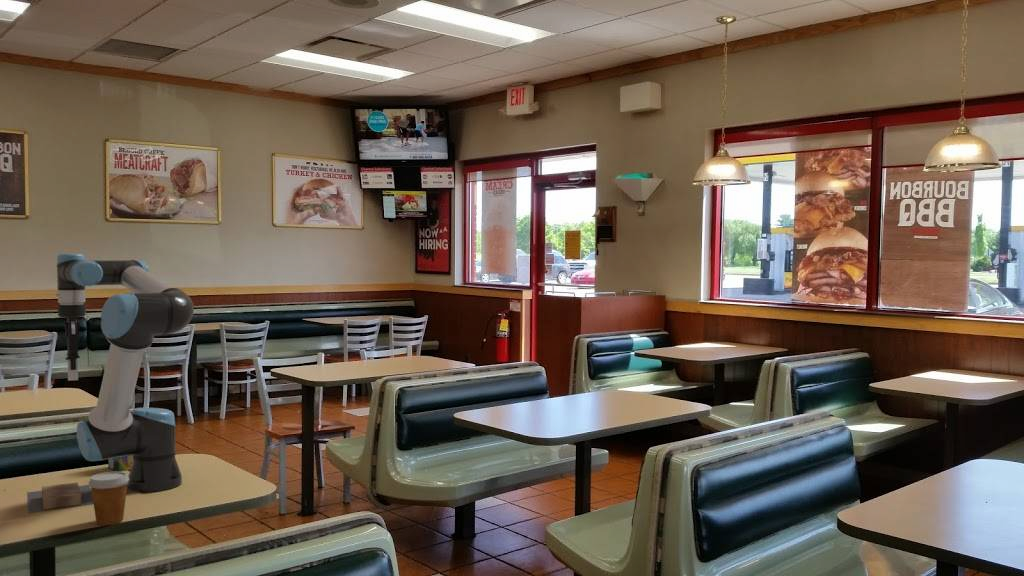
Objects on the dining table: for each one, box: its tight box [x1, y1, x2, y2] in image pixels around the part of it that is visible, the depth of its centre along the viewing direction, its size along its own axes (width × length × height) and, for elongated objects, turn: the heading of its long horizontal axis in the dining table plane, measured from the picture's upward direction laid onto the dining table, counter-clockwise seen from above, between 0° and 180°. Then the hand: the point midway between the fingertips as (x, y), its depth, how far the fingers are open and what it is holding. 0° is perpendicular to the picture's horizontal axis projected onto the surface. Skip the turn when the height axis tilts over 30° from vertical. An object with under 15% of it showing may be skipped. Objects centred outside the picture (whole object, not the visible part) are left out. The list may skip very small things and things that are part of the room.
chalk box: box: [107, 455, 133, 472], centre depth 270 cm, size 9×9×15 cm
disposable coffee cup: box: [88, 471, 129, 526], centre depth 217 cm, size 10×10×12 cm
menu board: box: [41, 482, 81, 510], centre depth 233 cm, size 9×3×14 cm
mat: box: [26, 484, 94, 514], centre depth 236 cm, size 16×22×1 cm
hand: (73, 379), depth 258 cm, fingers closed
